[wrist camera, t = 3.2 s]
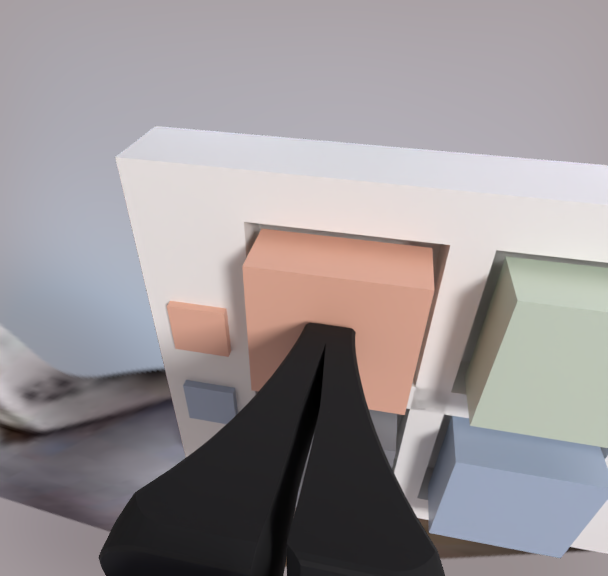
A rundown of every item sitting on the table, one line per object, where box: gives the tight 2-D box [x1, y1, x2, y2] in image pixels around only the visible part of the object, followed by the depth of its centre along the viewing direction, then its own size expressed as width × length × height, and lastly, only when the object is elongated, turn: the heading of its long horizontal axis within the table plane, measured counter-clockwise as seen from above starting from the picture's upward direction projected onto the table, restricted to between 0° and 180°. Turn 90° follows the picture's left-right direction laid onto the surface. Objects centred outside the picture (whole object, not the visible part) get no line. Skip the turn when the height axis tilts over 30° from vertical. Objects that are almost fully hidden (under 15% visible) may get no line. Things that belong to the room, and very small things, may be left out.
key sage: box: [465, 256, 608, 448], centre depth 14 cm, size 5×5×2 cm
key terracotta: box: [242, 229, 435, 415], centre depth 14 cm, size 5×5×2 cm
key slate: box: [428, 416, 608, 558], centre depth 18 cm, size 5×5×2 cm
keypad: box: [115, 126, 608, 554], centre depth 17 cm, size 20×16×3 cm
